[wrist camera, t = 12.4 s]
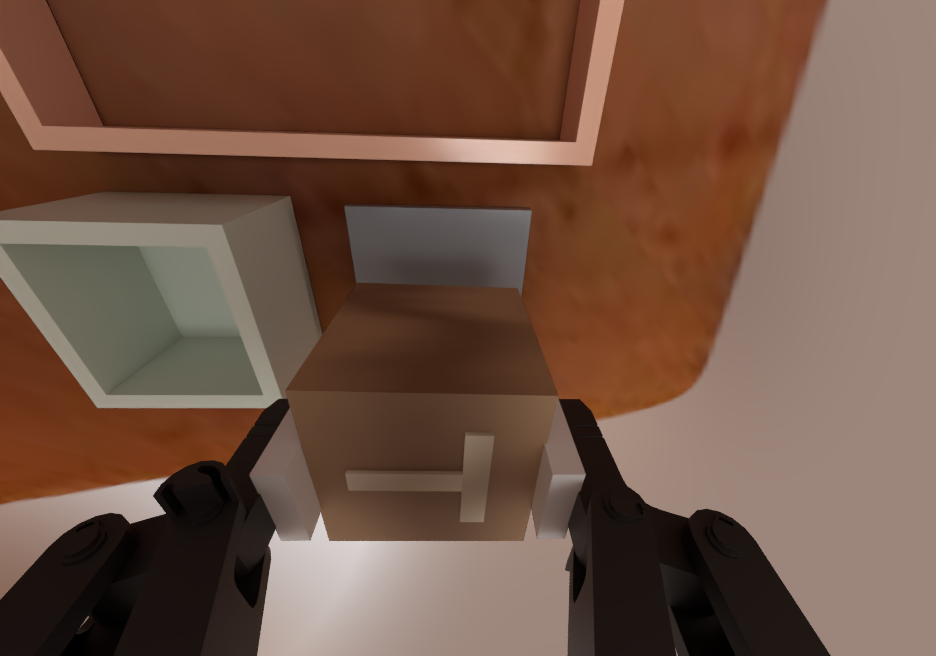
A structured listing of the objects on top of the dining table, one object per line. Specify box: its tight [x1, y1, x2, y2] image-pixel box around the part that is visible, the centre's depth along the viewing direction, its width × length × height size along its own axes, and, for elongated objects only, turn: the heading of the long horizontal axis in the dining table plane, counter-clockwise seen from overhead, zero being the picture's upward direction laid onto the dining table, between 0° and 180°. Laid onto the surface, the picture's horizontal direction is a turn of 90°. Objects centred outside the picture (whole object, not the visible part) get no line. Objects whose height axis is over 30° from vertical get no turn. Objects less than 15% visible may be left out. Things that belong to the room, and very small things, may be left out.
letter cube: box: [285, 282, 559, 541], centre depth 11 cm, size 6×6×6 cm
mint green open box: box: [0, 191, 322, 408], centre depth 16 cm, size 9×9×6 cm
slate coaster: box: [344, 204, 532, 295], centre depth 19 cm, size 9×9×1 cm
